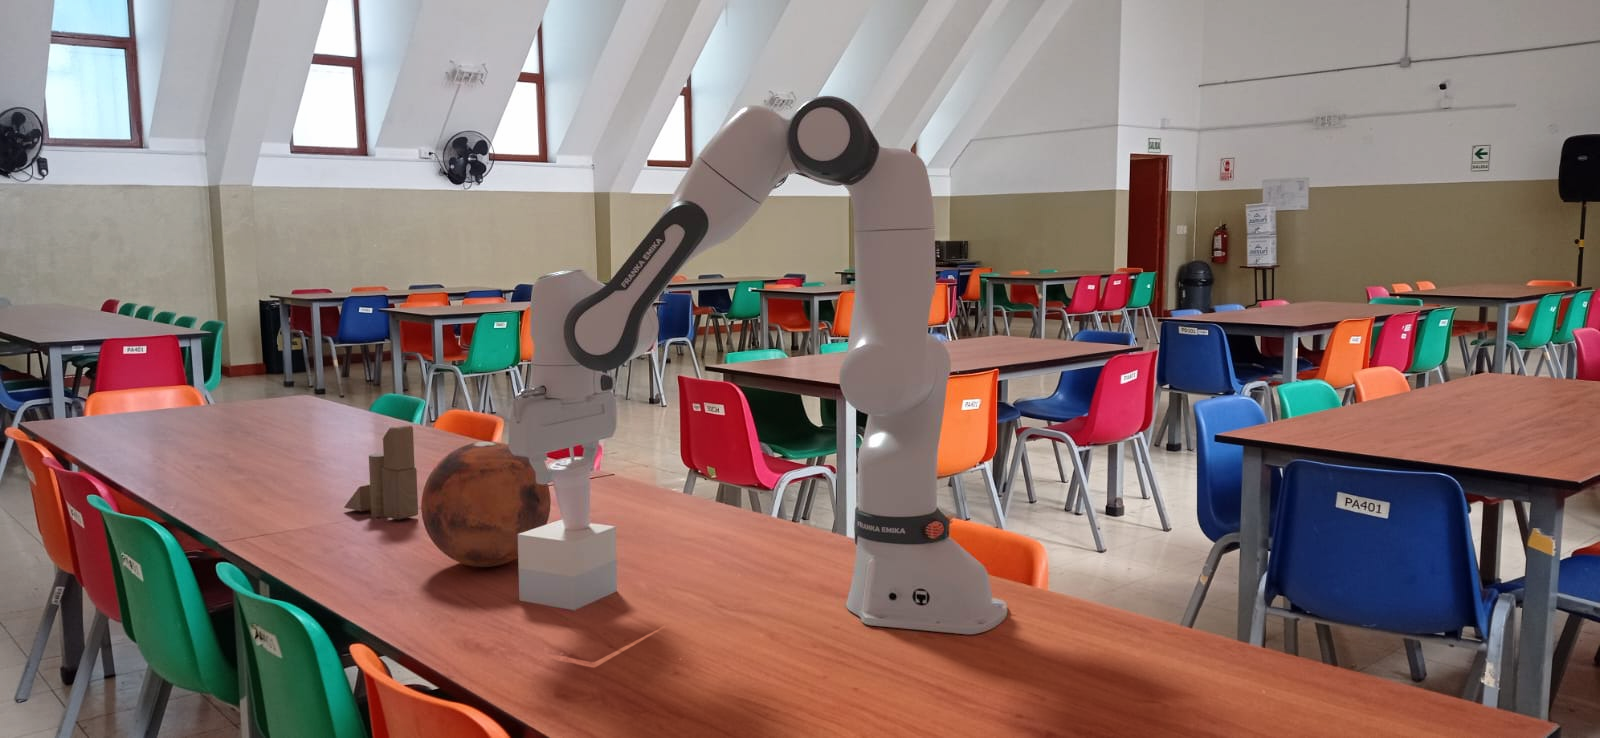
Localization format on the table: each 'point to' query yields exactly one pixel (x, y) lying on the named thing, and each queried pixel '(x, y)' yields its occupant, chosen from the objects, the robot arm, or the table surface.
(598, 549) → the tower top block
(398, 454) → the wooden block set
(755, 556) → the table surface
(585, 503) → the smoothie
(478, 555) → the planet model
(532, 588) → the tower base block
